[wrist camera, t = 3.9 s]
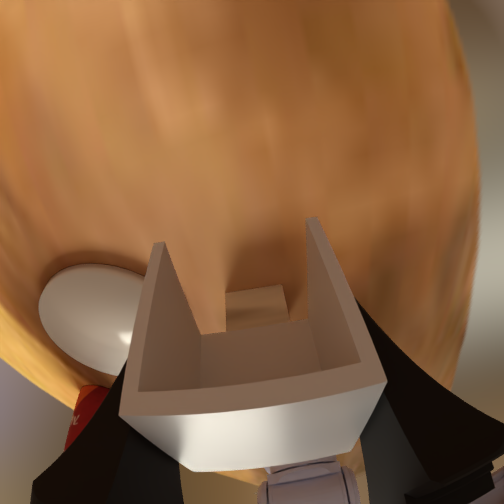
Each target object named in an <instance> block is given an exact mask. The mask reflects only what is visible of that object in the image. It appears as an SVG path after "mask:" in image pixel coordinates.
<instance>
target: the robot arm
mask: <svg viewBox="0 0 504 504" xmlns="http://www.w3.org/2000/svg"><path fill="white" fill-rule="evenodd" d="M354 298H355V297H354ZM355 301H356V303H357V305H358V308H359V310H360V312H361V315H362V317H363V320H364V322H365V324H366V327H367V329H368V332H369V334H370V337H371V339H372V342H373V344H374V347H375V349H376V352H377V354H378V357H379V360H380V362H381V365H382V368H383V370H384V373H385V376H386V378H387V383H386V386H385V388H384V390H383V392H382V394H381V396H380V398H379V400H378V402H377V404H376V406H375V408H374V410H373V412H372V414H371V416H370V418H369V420H368V422H367V423H366V425H365V427H364V429H363V431H362V433H361V434H360V441H361V447H362V452H363V457H364V463H365V470H366V476H367V483H368V491H369V501H370V504H504V466H503V467H501V468H500V469H498V470H497V471H495V472H493V473H492V474H491V472H490V471H492V470H493V469H494V467H493V464H492V461H493V460H495V459H497V458H498V457H500V456H501V455H503V454H504V423H502V422H500V421H498V420H496V419H494V418H492V417H490V416H488V415H486V414H484V413H483V412H481V411H479V410H477V409H476V408H474V407H473V406H471V405H469V404H468V403H466V402H464V401H463V400H462V399H460V398H459V397H457V396H456V395H454V394H453V393H452V392H450V391H449V390H447V389H446V388H444V387H443V386H442V385H440V384H439V383H438V382H437V381H435V380H434V379H433V378H432V377H430V376H429V375H428V374H427V373H426V372H425V371H423V370H422V369H421V368H420V367H419V366H418V365H417V364H415V363H414V362H413V361H412V360H411V359H410V358H409V357H408V356H407V355H406V354H405V353H404V352H403V351H402V350H401V349H400V348H399V347H398V346H397V345H396V344H395V343H394V342H393V341H392V340H391V339H390V338H389V337H388V336H387V335H386V334H385V332H384V331H383V330H382V329H381V328H380V327H379V326H378V325H377V324H376V323H375V321H374V320H373V319H372V318H371V317H370V316H369V314H368V313H367V312H366V311H365V310H364V308H363V307H362V306H361V305H360V304H359V302H358V301H357V300H356V299H355ZM127 359H128V358H127ZM126 364H127V360H126V362H125V364H124V365H123V367H122V369H121V371H120V373H119V375H118V376H117V378H116V380H115V382H114V383H113V385H112V387H111V388H110V390H109V392H108V393H107V395H106V397H105V398H104V400H103V402H102V403H101V405H100V406H99V408H98V409H97V411H96V412H95V414H94V415H93V416H92V418H91V419H90V421H89V422H88V423H87V425H86V426H85V427H84V429H83V430H82V431H81V433H80V434H79V435H78V436H77V438H76V439H75V440H74V441H73V442H72V444H71V445H70V446H69V447H68V448H67V449H66V450H65V451H64V452H63V453H62V454H61V456H60V457H59V458H58V459H57V460H56V461H55V462H54V463H53V464H52V465H51V466H50V467H48V468H47V469H46V470H45V471H44V472H43V473H42V474H41V475H40V476H38V477H37V478H36V479H35V480H34V481H33V485H32V493H31V502H30V504H184V502H183V495H182V489H181V480H180V471H179V462H178V461H177V460H175V459H174V458H172V457H171V456H169V455H168V454H167V453H165V452H164V451H162V450H161V449H160V448H158V447H157V446H156V445H154V444H153V443H152V442H150V441H149V440H148V439H147V438H145V437H144V436H143V435H141V434H140V433H139V432H138V431H136V430H135V429H134V428H133V427H132V426H130V425H129V424H128V423H127V422H126V421H124V420H123V419H122V418H121V417H120V416H119V409H120V402H121V395H122V388H123V382H124V376H125V370H126ZM264 468H265V470H266V471H267V472H268V473H269V475H267V479H268V481H263V482H262V484H261V485H260V486H259V488H258V493H257V500H258V504H360V496H359V491H358V486H357V482H356V478H355V475H354V473H353V470H352V469H350V468H348V467H347V466H342V467H340V462H339V461H337V459H336V455H333V456H328V457H324V458H319V459H314V460H308V461H303V462H297V463H291V464H285V465H278V466H270V467H264Z"/></svg>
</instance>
